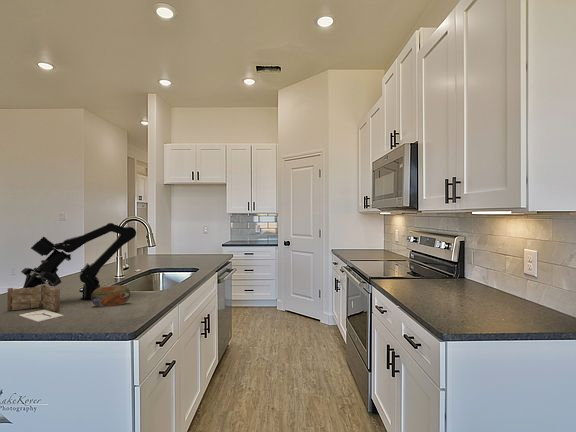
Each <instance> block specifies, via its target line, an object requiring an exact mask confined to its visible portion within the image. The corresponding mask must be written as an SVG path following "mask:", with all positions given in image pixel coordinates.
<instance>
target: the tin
mask: <svg viewBox="0 0 576 432" xmlns="http://www.w3.org/2000/svg"><path fill="white" fill-rule="evenodd" d="M130 298H131V291H130V289H129V288H128V287H127V286H126V285H121V284H120V285H107V286H100V287H99V288H97V289H95V290H94V292H93V293H92V295H91V302H92V305H94V306H95V307H99V308H102V307H110V306H111V307H113V306H121V305H124V304H126V303H127V302H128V301H129V300H130Z"/></svg>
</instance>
